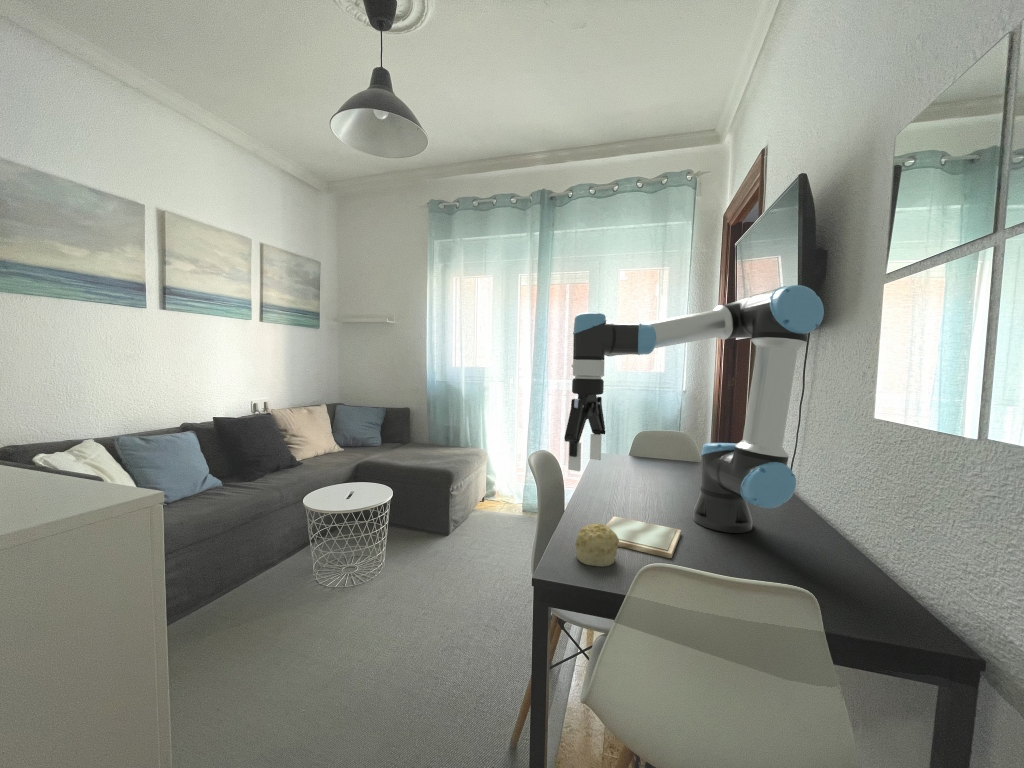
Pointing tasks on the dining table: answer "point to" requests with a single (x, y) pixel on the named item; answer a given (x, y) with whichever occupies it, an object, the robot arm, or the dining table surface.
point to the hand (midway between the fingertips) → (585, 464)
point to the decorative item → (596, 545)
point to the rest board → (645, 536)
